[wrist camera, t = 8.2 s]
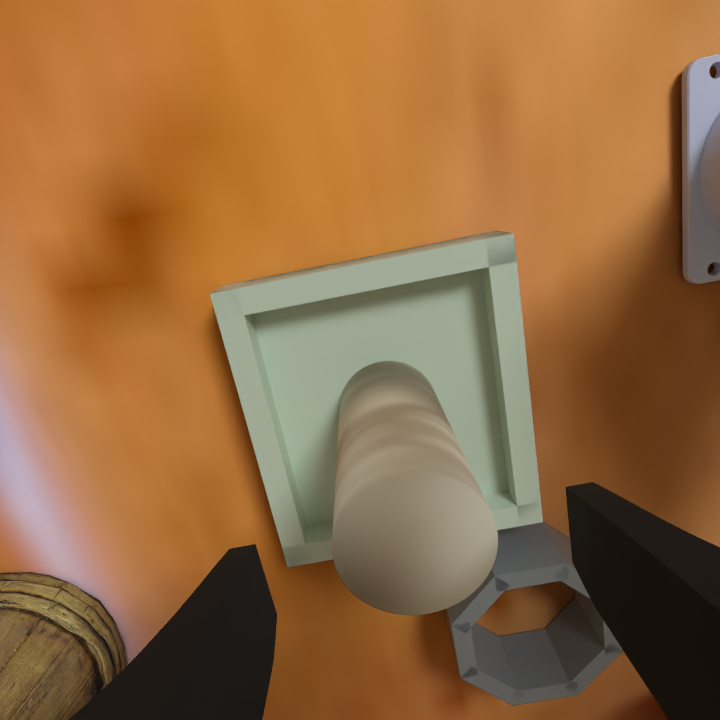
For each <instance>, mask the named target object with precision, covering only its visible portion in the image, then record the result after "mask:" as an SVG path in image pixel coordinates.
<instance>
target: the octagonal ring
mask: <svg viewBox="0 0 720 720" xmlns="http://www.w3.org/2000/svg"><path fill="white" fill-rule="evenodd" d="M497 532H498V549H497V555H496V559H495V562H494V564H493V567H492V569H491V571H490V573H489V574H488V576H487V578H486V579H485V580H484V582H483V583H482V584H481V585H480V586H479V587H478V588H477V589H476V590H475V591H474V592H473V593H472V594H471V595H470V596H468V597H467V598H466V599H464V600H462V601H461V602H459V603H457V604H456V605H453V606H451V607H449V608H447V609H445V612H446V617H447V623H448V628H449V632H450V636H451V641H452V645H453V649H454V653H455V658H456V662H457V666H458V670H459V675H460V678H461V679H463V680H465V681H467V682H469V683H470V684H472V685H474V686H476V687H478V688H480V689H482V690H484V691H486V692H488V693H489V694H491V695H493V696H495V697H497V698H499V699H501V700H503V701H505V702H507V703H509V704H510V705H512V706H514V705H520V704H526V703H533V702H539V701H545V700H551V699H557V698H563V697H569V696H575V695H579V694H580V693H581V692H582V691H583V690H584V689H585V688H586V687H587V686H588V685H589V684H590V683H591V682H592V681H593V680H594V679H595V678H596V677H597V676H598V675H599V674H600V673H602V672H603V671H604V670H605V669H606V668H607V667H608V666H609V665H610V664H611V663H612V662H613V661H614V660H615V659H616V658H617V657H618V656H619V655H620V654H621V653H622V652H623V649H622V648H621V646H620V645H619V643H618V642H617V640H616V639H615V637H614V636H613V634H612V633H611V631H610V629H609V628H608V626H607V625H606V623H605V622H604V620H603V619H602V617H601V616H600V614H599V612H598V611H597V609H596V608H595V606H594V605H593V603H592V601H591V599H590V597H589V595H588V593H587V591H586V589H585V587H584V585H583V583H582V581H581V579H580V577H579V575H578V573H577V571H576V569H575V567H574V564H573V562H572V553H571V541H570V538H569V537H567V536H565V535H564V534H562V533H561V532H559V531H557V530H556V529H554V528H553V527H551V526H549V525H548V524H546V523H544V522H541V523H535V524H530V525H524V526H518V527H513V528H507V529H502V530H497ZM557 581H562V582H563V583H565V584H567V585H568V586H570V587H572V588H573V589H574V590H575V598H574V599H573V600H572V601H571V602H570V603H569V604H568V605H567V606H566V607H565V608H564V609H563V610H562V611H561V612H560V613H559V614H558V615H557V616H556V617H555V619H554V620H553V621H552V622H551V623H550V624H549V625H548V626H547V627H546V628H545V629H540V630H534V631H528V632H522V633H516V634H511V635H505V636H497V635H496V634H494V633H492V632H490V631H488V630H487V629H485V628H483V627H481V626H479V625H478V624H476V622H477V621H478V620H479V619H480V617H481V616H482V615H483V614H484V613H485V612H486V611H487V610H488V609H489V607H490V606H491V605H492V604H493V603H494V602H495V601H496V600H497V599H498V598H499V596H500V595H501V594H502V593H503V592H504V591H505V590H511V589H516V588H522V587H528V586H534V585H540V584H545V583H551V582H557Z"/></svg>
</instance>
